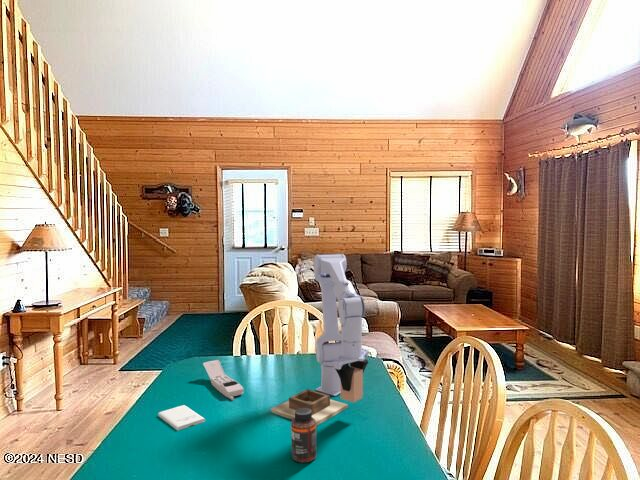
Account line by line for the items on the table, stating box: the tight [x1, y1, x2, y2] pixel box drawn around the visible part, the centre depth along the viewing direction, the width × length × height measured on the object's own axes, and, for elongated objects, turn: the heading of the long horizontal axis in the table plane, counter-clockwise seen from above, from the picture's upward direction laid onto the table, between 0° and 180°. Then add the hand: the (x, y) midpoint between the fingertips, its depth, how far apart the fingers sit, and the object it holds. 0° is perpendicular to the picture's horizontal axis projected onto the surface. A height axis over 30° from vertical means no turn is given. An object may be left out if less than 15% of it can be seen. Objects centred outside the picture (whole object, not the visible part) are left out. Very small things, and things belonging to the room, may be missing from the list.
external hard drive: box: [157, 404, 206, 431], centre depth 136 cm, size 2×8×12 cm
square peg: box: [340, 367, 364, 403], centre depth 136 cm, size 4×4×8 cm
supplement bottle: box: [290, 408, 318, 463], centre depth 114 cm, size 6×6×11 cm
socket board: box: [270, 388, 349, 427], centre depth 141 cm, size 16×16×4 cm
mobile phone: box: [202, 359, 244, 401], centre depth 160 cm, size 6×6×25 cm
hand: (351, 387), depth 136 cm, fingers closed on square peg, 4 cm apart
